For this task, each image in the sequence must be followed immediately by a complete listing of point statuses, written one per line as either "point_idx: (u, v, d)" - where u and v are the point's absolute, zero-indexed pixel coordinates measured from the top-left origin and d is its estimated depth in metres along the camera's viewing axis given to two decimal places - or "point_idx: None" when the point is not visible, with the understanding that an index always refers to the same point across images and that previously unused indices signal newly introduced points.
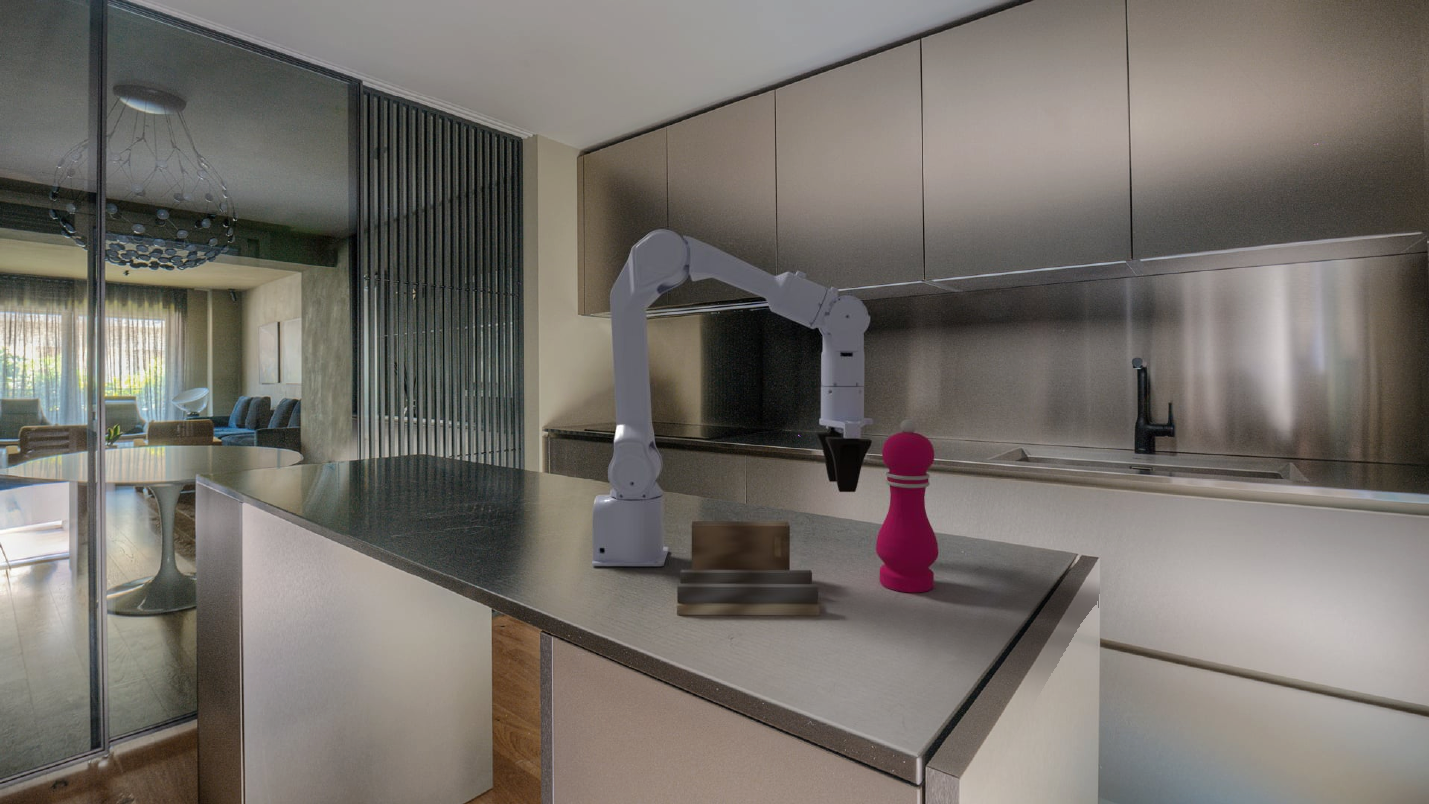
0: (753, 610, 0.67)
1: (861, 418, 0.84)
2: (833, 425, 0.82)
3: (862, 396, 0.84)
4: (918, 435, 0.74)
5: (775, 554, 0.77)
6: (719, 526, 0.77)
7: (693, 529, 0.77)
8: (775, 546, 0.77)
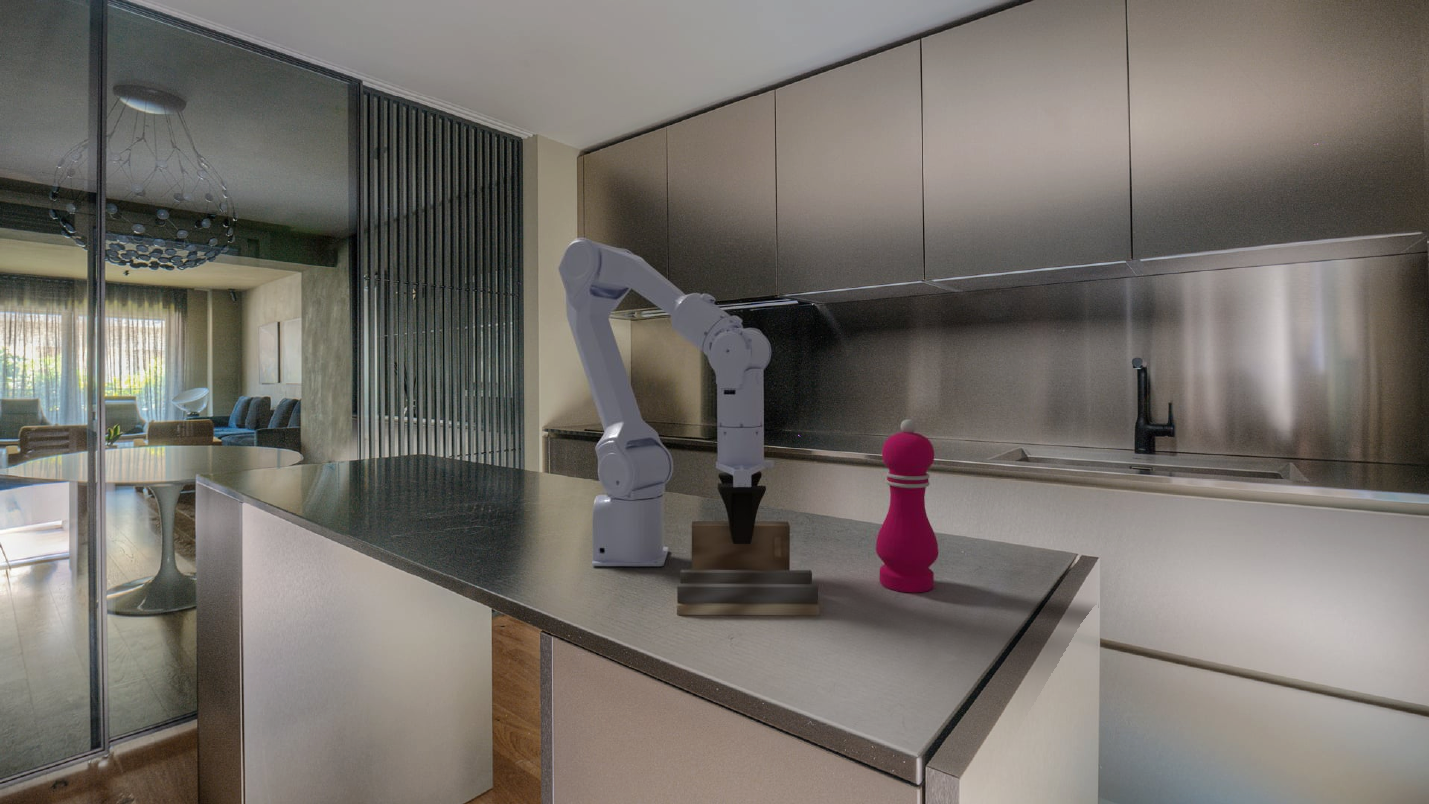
0: (753, 610, 0.67)
1: (759, 461, 0.76)
2: (725, 470, 0.74)
3: (760, 437, 0.76)
4: (918, 435, 0.74)
5: (775, 554, 0.77)
6: (719, 526, 0.77)
7: (693, 529, 0.77)
8: (775, 546, 0.77)
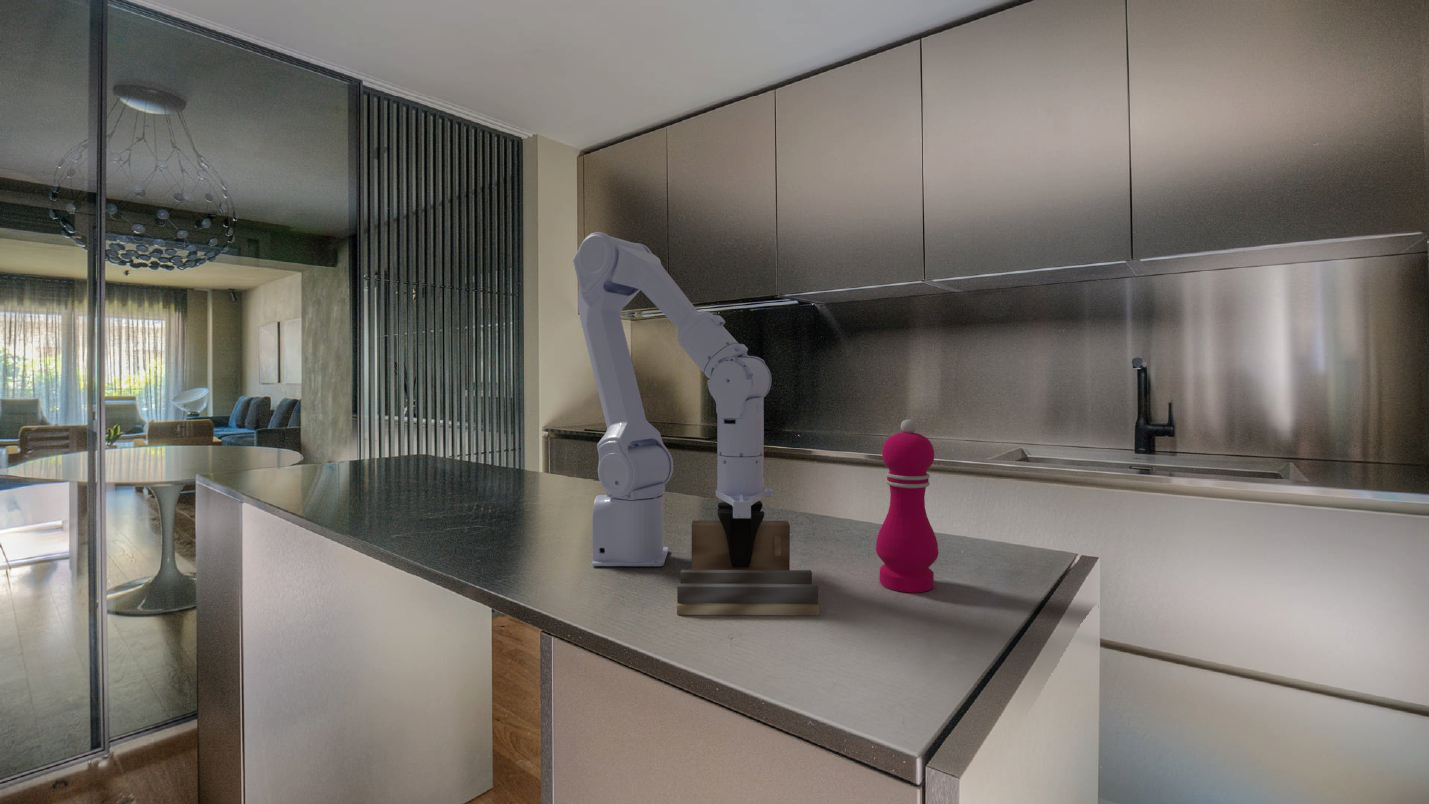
0: (753, 610, 0.67)
1: (759, 490, 0.76)
2: (725, 500, 0.74)
3: (760, 466, 0.77)
4: (918, 435, 0.74)
5: (775, 553, 0.77)
6: (719, 525, 0.77)
7: (693, 528, 0.77)
8: (775, 545, 0.77)
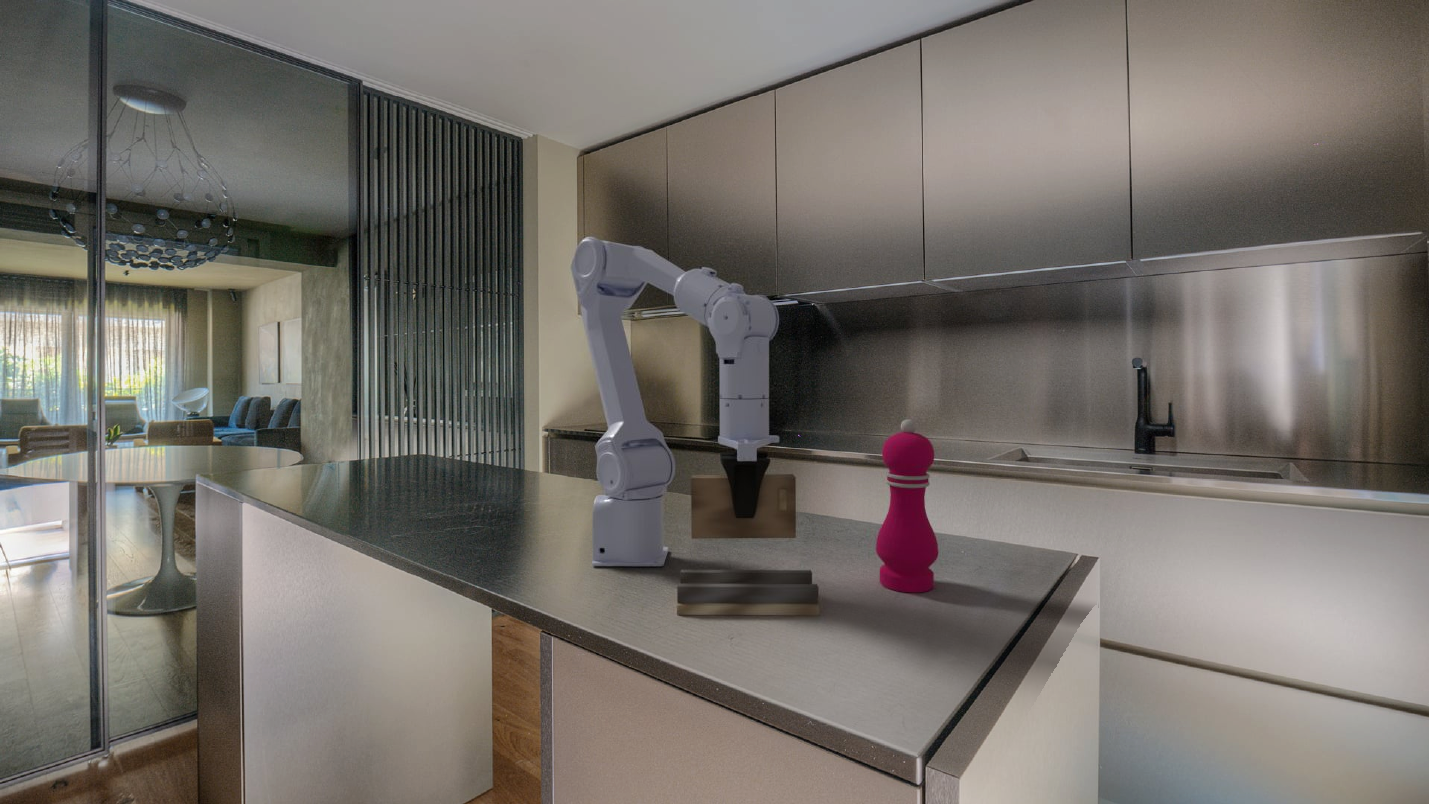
0: (753, 610, 0.67)
1: (764, 436, 0.72)
2: (729, 444, 0.70)
3: (765, 410, 0.72)
4: (918, 435, 0.74)
5: (780, 507, 0.72)
6: (720, 478, 0.73)
7: (693, 481, 0.72)
8: (780, 499, 0.72)
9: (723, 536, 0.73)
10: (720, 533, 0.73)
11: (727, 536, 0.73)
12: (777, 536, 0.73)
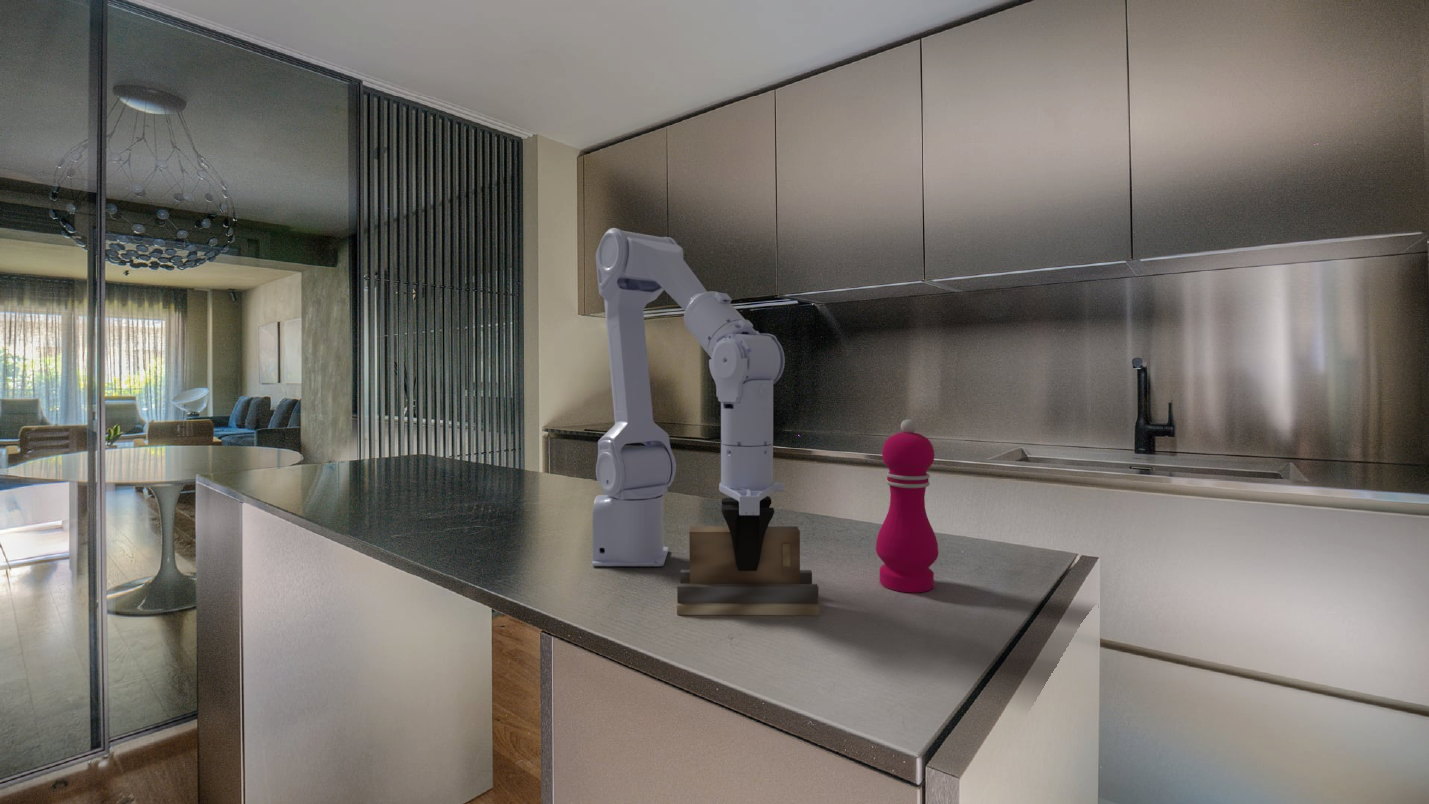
0: (753, 610, 0.67)
1: (768, 484, 0.68)
2: (730, 495, 0.66)
3: (769, 457, 0.68)
4: (918, 435, 0.74)
5: (783, 563, 0.68)
6: (720, 532, 0.69)
7: (691, 536, 0.69)
8: (783, 554, 0.68)
9: None
10: None
11: None
12: None
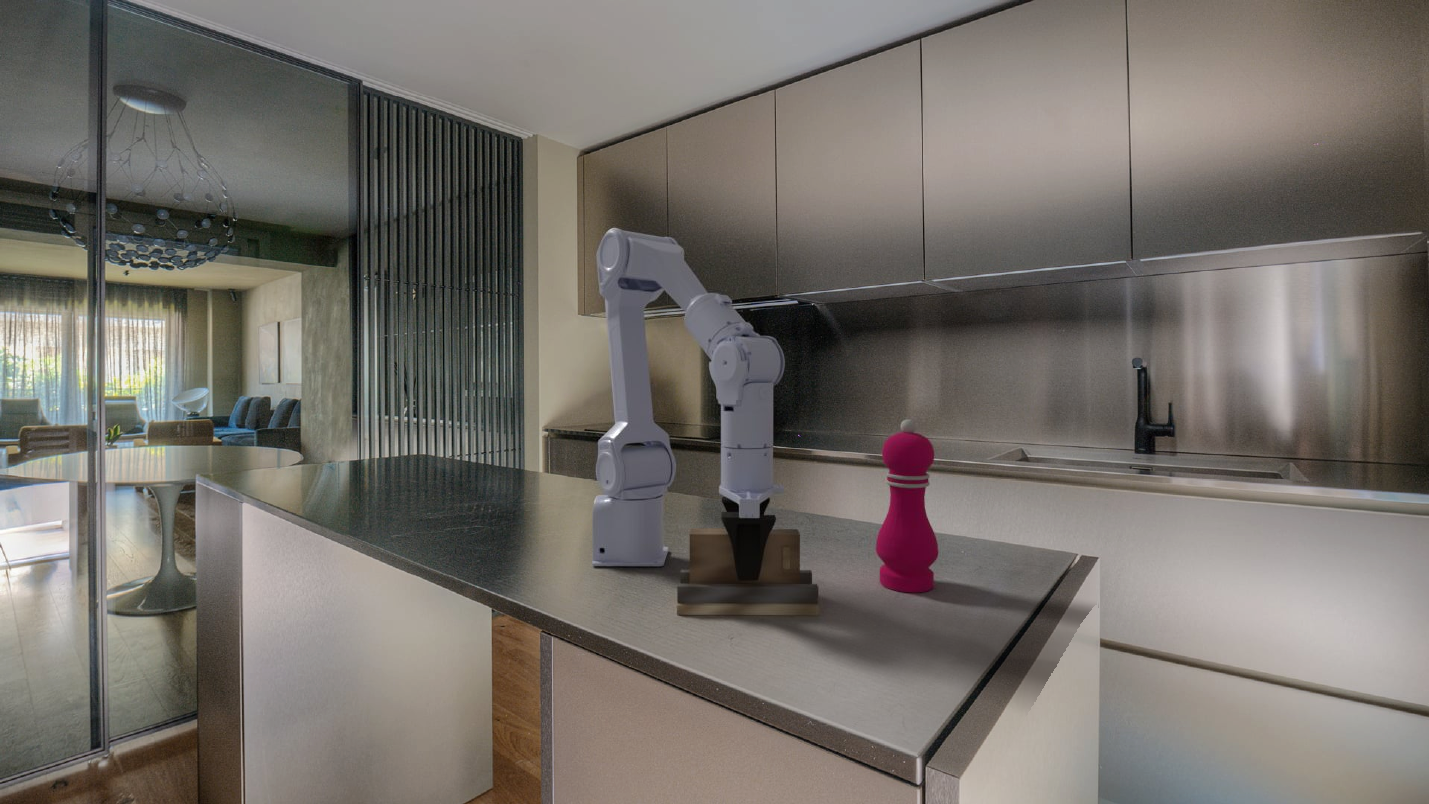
0: (753, 610, 0.67)
1: (768, 487, 0.68)
2: (730, 497, 0.66)
3: (769, 459, 0.68)
4: (918, 435, 0.74)
5: (783, 566, 0.68)
6: (720, 535, 0.69)
7: (691, 538, 0.69)
8: (783, 557, 0.68)
9: None
10: None
11: None
12: None
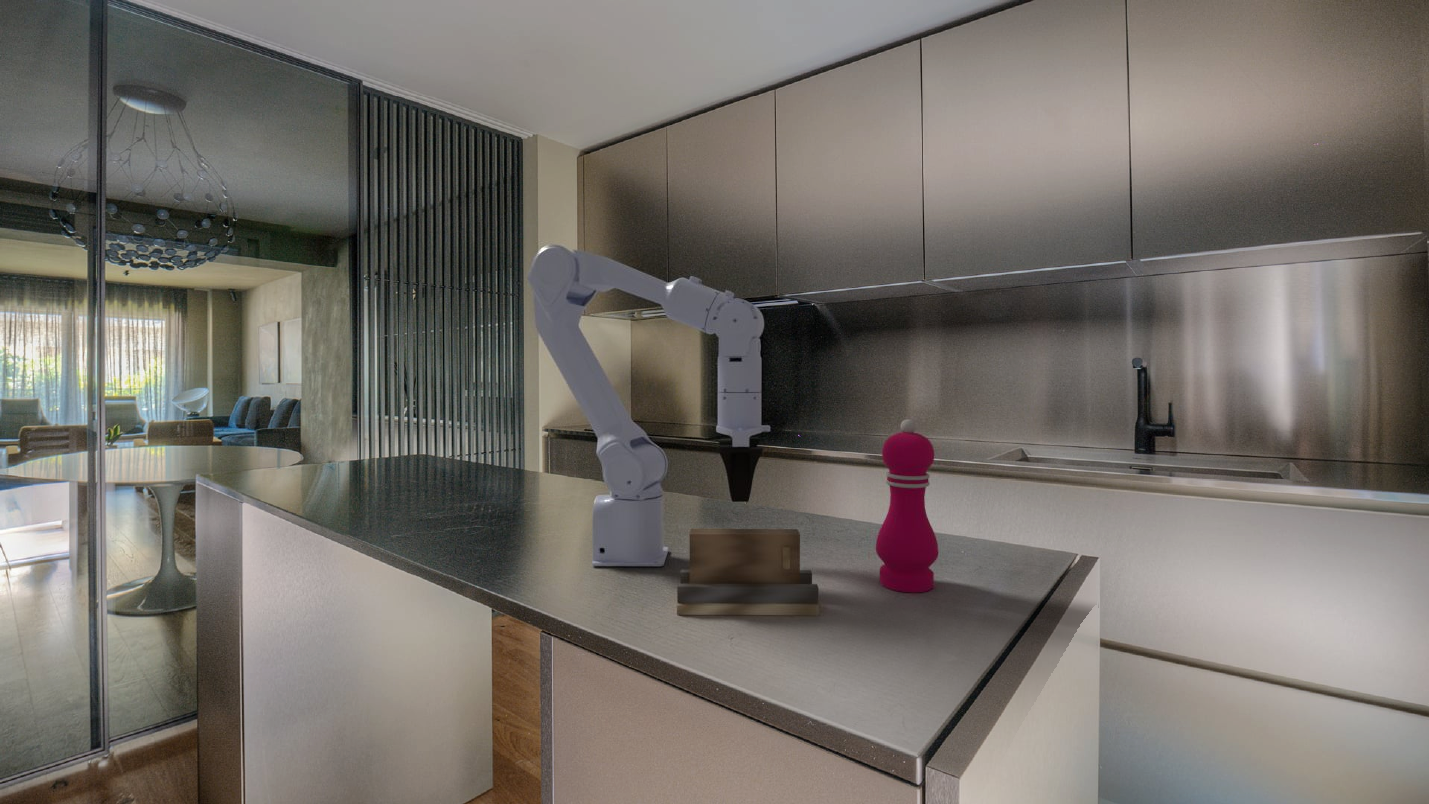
0: (753, 610, 0.67)
1: (757, 425, 0.81)
2: (725, 433, 0.79)
3: (758, 402, 0.81)
4: (918, 435, 0.74)
5: (783, 566, 0.68)
6: (720, 535, 0.69)
7: (691, 538, 0.69)
8: (783, 557, 0.68)
9: None
10: None
11: None
12: None
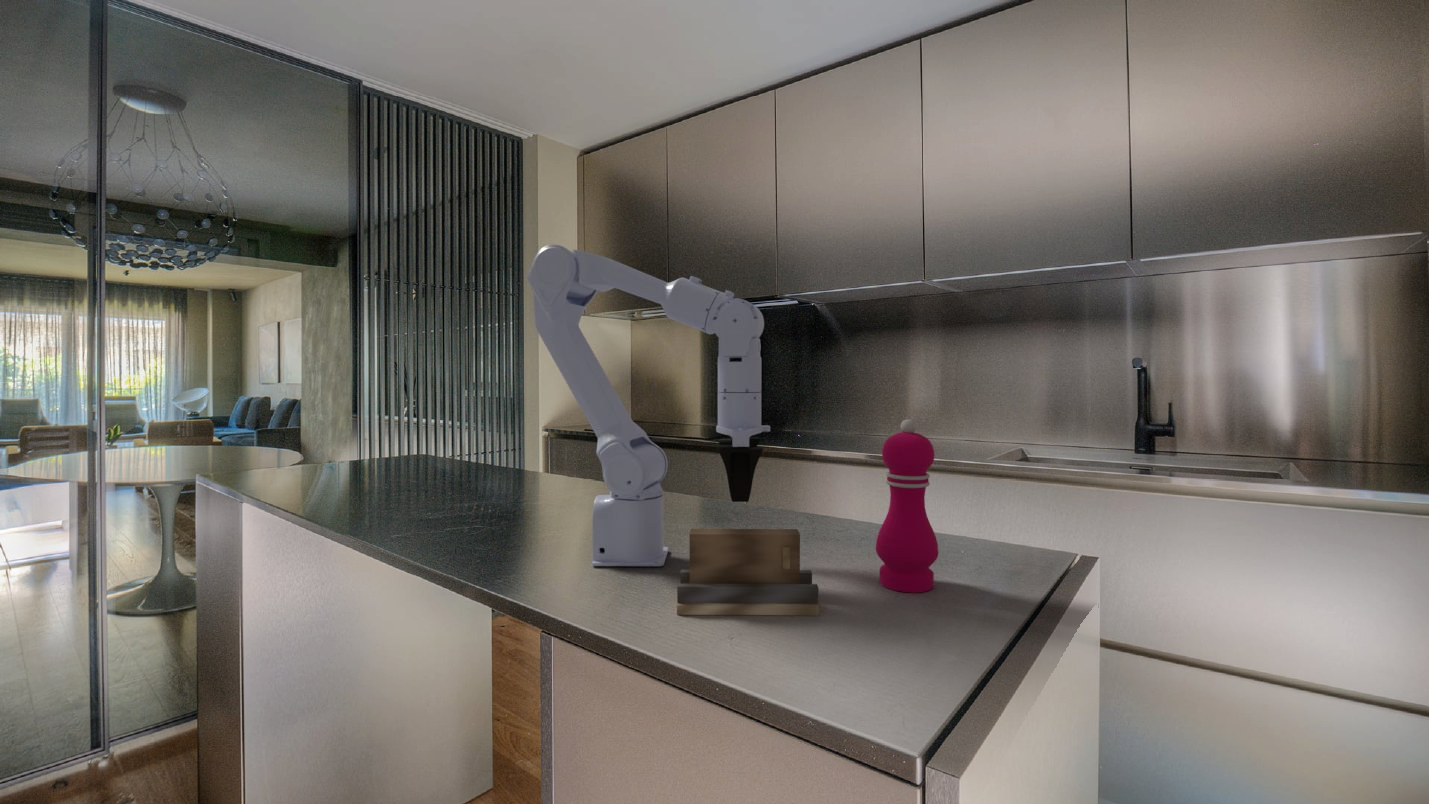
0: (753, 610, 0.67)
1: (757, 425, 0.81)
2: (725, 433, 0.79)
3: (758, 402, 0.81)
4: (918, 435, 0.74)
5: (783, 566, 0.68)
6: (720, 535, 0.69)
7: (691, 538, 0.69)
8: (783, 557, 0.68)
9: None
10: None
11: None
12: None
